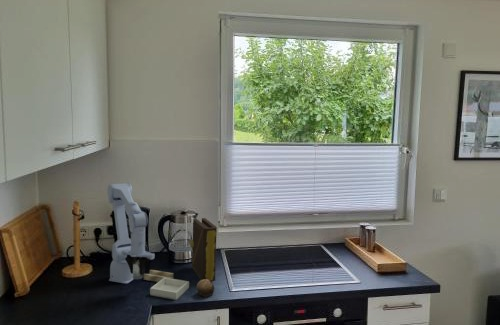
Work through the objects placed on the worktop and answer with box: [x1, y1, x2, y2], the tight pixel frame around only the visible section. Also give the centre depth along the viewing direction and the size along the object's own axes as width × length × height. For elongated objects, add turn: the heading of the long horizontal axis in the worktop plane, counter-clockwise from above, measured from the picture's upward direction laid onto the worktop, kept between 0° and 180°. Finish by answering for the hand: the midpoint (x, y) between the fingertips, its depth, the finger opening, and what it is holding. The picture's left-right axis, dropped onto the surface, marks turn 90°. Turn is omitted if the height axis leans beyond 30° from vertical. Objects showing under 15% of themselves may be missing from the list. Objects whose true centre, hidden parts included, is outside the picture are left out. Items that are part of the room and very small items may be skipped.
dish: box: [149, 278, 190, 301], centre depth 161 cm, size 12×12×3 cm
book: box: [189, 217, 218, 283], centre depth 181 cm, size 22×8×25 cm, turn 25°
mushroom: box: [196, 279, 215, 297], centre depth 160 cm, size 8×8×6 cm
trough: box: [143, 269, 174, 283], centre depth 173 cm, size 12×6×2 cm, turn 74°
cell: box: [133, 259, 144, 280], centre depth 157 cm, size 4×4×7 cm
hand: (137, 273), depth 158 cm, fingers closed on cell, 4 cm apart
